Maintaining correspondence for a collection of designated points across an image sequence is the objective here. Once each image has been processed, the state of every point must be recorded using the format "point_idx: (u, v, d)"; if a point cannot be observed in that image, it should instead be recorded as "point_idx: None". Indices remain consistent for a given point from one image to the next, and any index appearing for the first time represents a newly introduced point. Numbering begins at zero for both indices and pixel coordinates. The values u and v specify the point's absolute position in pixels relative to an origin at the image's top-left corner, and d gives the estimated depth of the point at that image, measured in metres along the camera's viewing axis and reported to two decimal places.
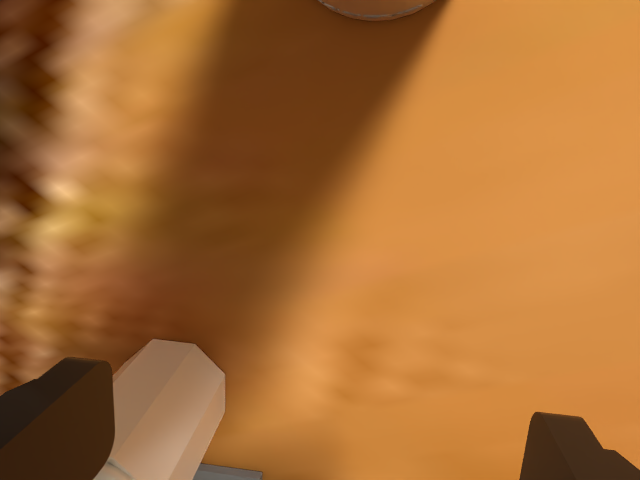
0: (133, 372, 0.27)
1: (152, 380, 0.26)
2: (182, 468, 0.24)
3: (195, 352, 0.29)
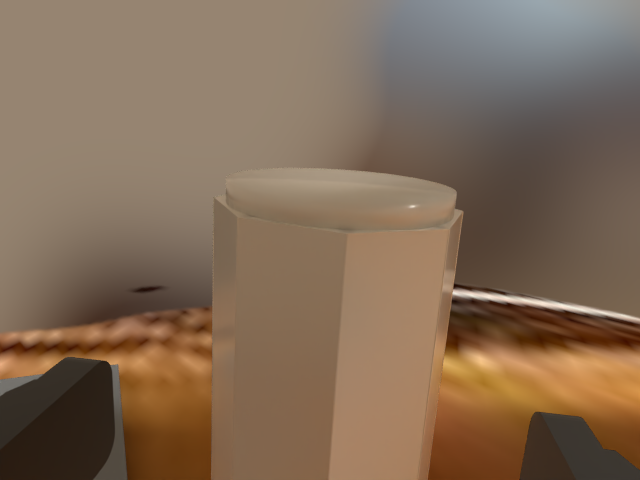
0: None
1: None
2: (407, 341, 0.12)
3: None
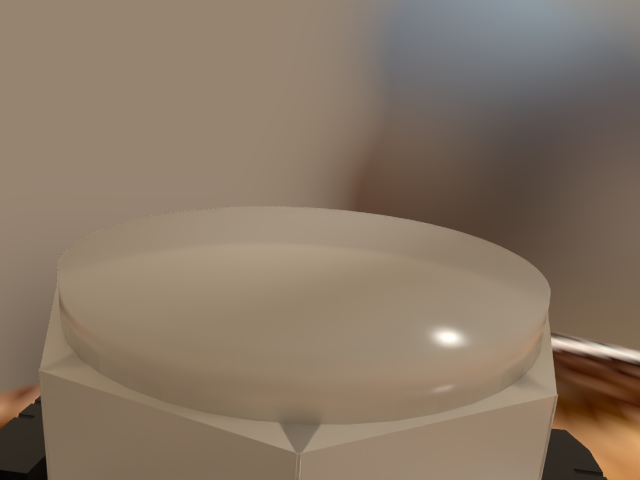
0: None
1: None
2: None
3: None
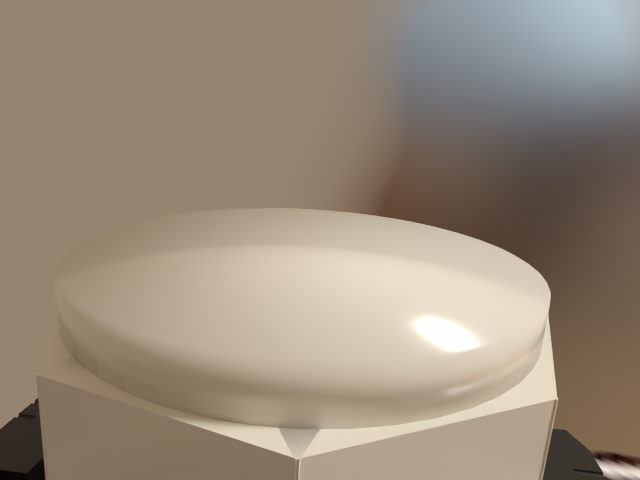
0: None
1: None
2: None
3: None
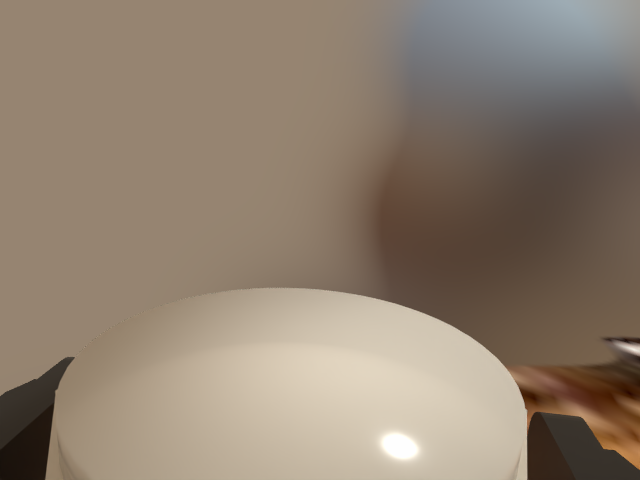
0: None
1: None
2: None
3: None
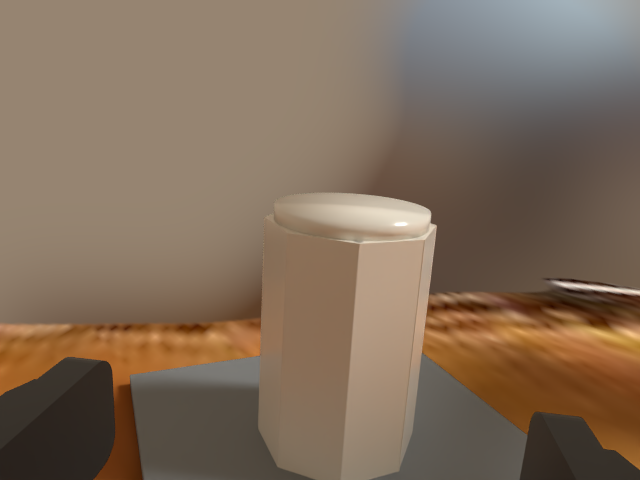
0: None
1: None
2: (398, 313, 0.18)
3: (411, 427, 0.22)
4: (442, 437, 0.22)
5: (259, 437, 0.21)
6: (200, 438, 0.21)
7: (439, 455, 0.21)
